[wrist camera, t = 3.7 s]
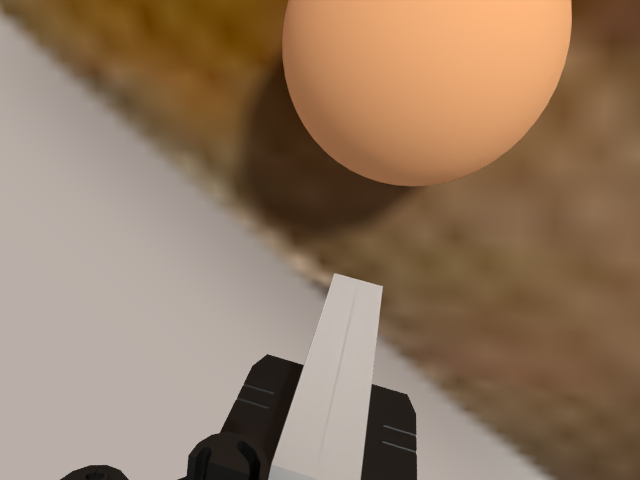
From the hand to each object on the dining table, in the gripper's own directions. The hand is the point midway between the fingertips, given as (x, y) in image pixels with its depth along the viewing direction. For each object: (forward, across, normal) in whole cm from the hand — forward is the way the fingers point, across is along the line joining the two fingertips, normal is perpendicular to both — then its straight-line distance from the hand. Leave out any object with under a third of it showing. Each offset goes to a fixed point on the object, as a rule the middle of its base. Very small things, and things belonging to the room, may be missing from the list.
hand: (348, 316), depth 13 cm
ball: (-1, 0, +8) cm, 8 cm away
